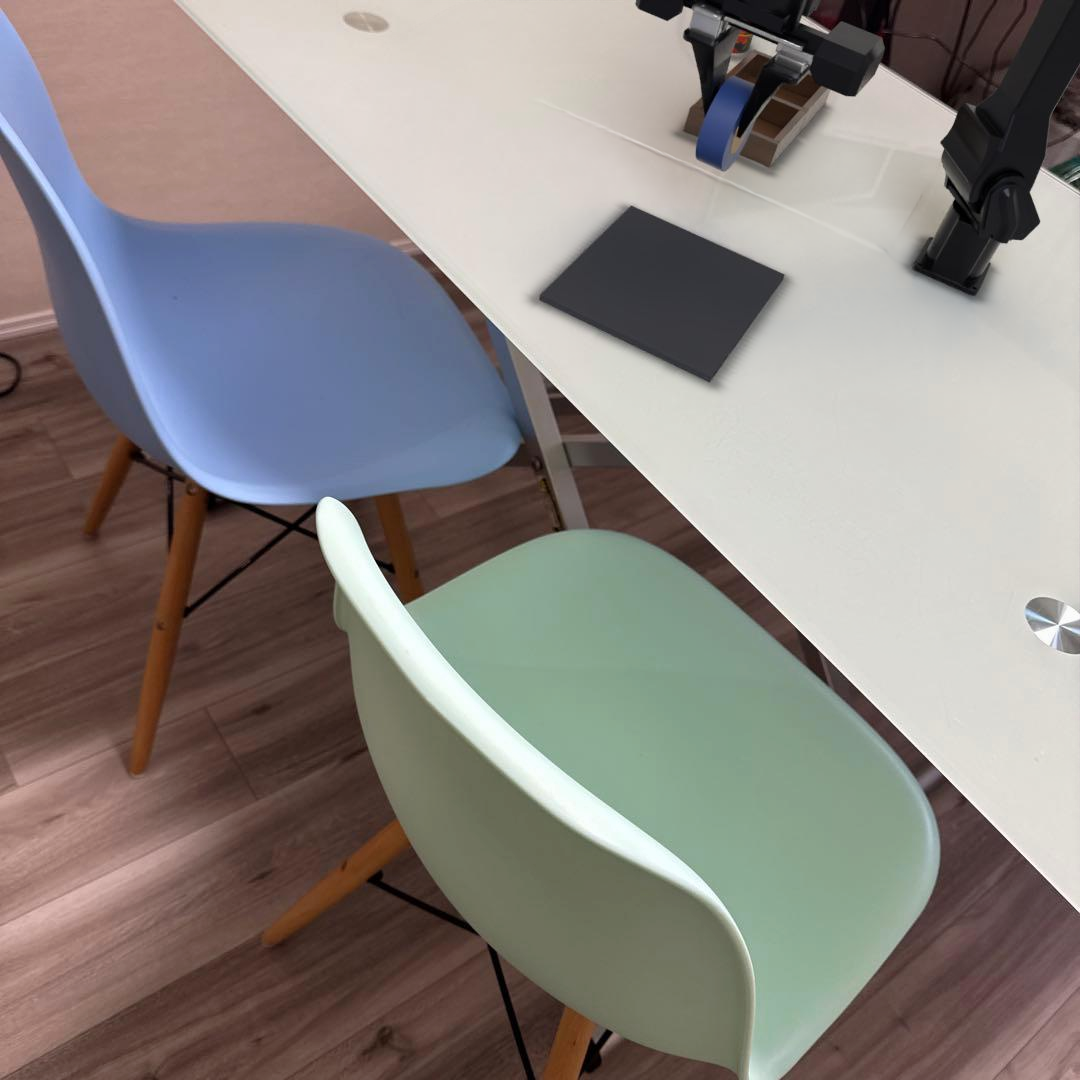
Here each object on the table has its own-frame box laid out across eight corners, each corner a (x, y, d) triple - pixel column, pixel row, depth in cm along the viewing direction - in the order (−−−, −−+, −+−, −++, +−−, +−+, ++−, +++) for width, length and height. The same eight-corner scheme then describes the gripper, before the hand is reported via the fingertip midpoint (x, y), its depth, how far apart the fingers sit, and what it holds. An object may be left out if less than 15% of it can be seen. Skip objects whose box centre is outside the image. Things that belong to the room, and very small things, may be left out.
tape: (713, 177, 81) (748, 91, 77) (686, 165, 82) (718, 78, 78) (737, 165, 87) (771, 83, 82) (711, 153, 87) (743, 72, 83)
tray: (767, 172, 102) (778, 144, 100) (681, 135, 104) (689, 107, 102) (823, 107, 114) (834, 81, 112) (745, 75, 116) (754, 48, 114)
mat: (709, 382, 79) (712, 376, 79) (539, 299, 82) (540, 294, 82) (782, 279, 90) (785, 274, 90) (629, 210, 93) (631, 205, 93)
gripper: (943, -59, 73) (856, 138, 85) (719, -144, 77) (666, 57, 88) (903, -20, 66) (814, 189, 78) (659, -115, 70) (610, 98, 82)
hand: (724, 129), depth 82 cm, fingers closed on tape, 2 cm apart
